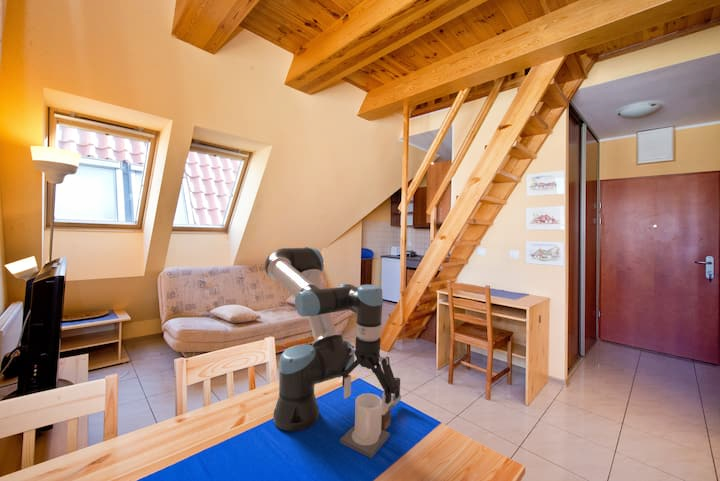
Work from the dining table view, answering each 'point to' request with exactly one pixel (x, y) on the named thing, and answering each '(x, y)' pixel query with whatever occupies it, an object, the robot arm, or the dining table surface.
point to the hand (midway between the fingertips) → (365, 404)
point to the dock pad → (364, 442)
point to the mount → (385, 420)
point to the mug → (368, 416)
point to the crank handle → (395, 395)
